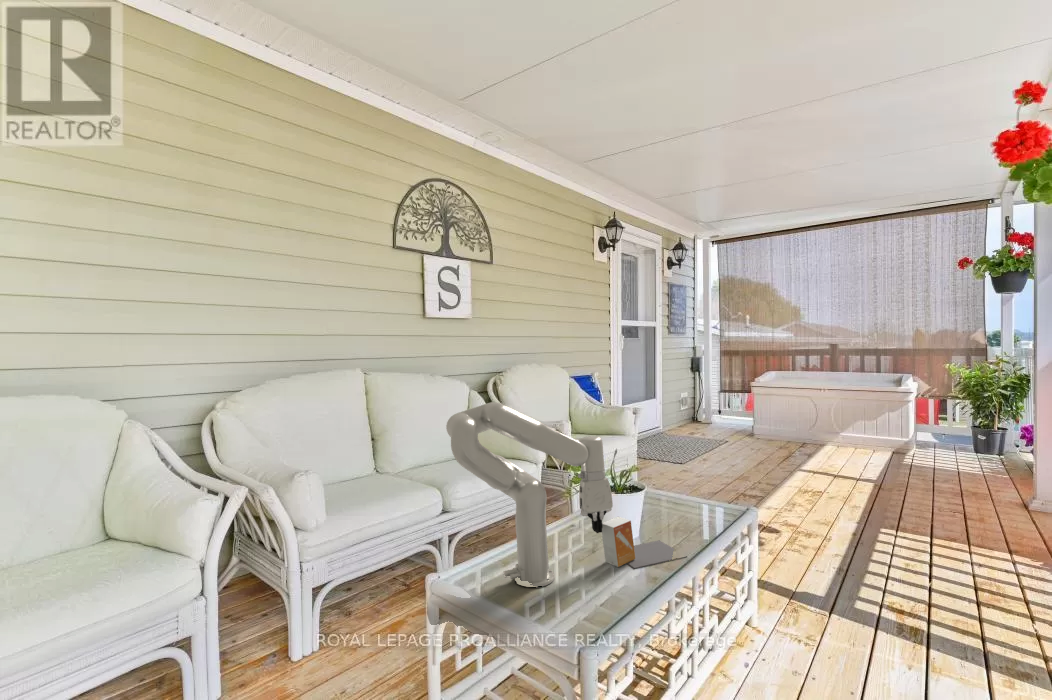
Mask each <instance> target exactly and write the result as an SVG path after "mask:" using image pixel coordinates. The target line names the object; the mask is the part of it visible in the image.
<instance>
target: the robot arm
mask: <svg viewBox="0 0 1052 700" xmlns="http://www.w3.org/2000/svg"><path fill="white" fill-rule="evenodd" d="M445 426H446V427H445V428H446V433H447V434H448V436H449V437H450V447H451V452H452V454H453V457H454V459H455V460H456V462H457V463H458V464H459V465H460V466H461V467H463V468H464V469H465V470H467V471H469V472H470V473H471V474H472V475H474V476H475V477H477V478H479V479H480V480H481V481H483V482H485V483H486V484H487V485H488V486H490V488H492V489H494V490H497V491H500V492H501V493H503V494H505V495H506V496H508V497H510V499H512V500H513V501H514V502H515V515H514V516H515V533H516V551H517V552H516V553H517V563H516V564H515V567H513V568H512V569H507V570H503V572H502V573H504V574H503V576H504V575H505V576H510V577H509V579H510V580H514V578H517V577H518V578H520V580H521V581H528V582H529V583H532V584H530V585H533V586H542V587H545V586H548V585H550V584H551V583H552V582H554V580H555V573H554V571H553V570H552V569H550V565H549V551H548V549H549V548H548V535H547V534H548V533H547V531H548V530H547V521H546V519H547V517H546V516H547V515H546V514H547V513H546V510H547V491H546V488H545V486H544V484H543V483H542V482H541V481H540V480H539V479H538V478H536V477H535V476H533V475H531V474H530V473H528V472H526V471H525V470H523V469H522V468H520V467H519V466H518V465H516V464H514V463H513V462H511V461H510V460H508V459H507V458H505V457H503V456H502V455H498V454H495V453H493V452H492V451H491V450H490V449H488V448H486V447H485V446H484V445H482V444H481V443H480V441H479V434H481V433H483V432H487V431H489V430H492V431H494V432H497V433H499V434H500V435H503V436H505V437H507V438H509V439H512V440H513V441H516V442H518V443H519V444H522V445H524V446H526V447H528V448H531V449H533V450H536V451H539V452H542V453H544V454H547V455H548V456H551V457H552V458H555V459H558V460H560V461H562V462H564V463H566V464H568V465H570V466H572V467H581V468H580V473H577V477H578V479H580V481H579V491H578V492H579V494H578V496H579V497H578V499H579V500H578V501H579V509H580V515H581V516H582V517H588V518H590V520H591V528H592V531H593V532H595V533H596V534H599V533H600V534H602V528H603V526H602V523H603V520H604V517H605V515H606V514H607V513H609V512H611V511H612V508H613V506H614V505H613V496H612V491H611V485H610V482H609V478H608V477H606V470H605V459H604V457H605V456H604V447H603V445H604V443H603V440H602V438H601V437H600V436H596V435H595V436H594V435H591V436H583V437H576V438H575V437H574V438H573V437H569V436H568V435H565V434H564V433H561V432H560V431H558V430H555V429H553V428H552V427H550V426H548V425H547V424H545V423H542V422H541V421H539V420H537V419H535V418H533V417H531V416H529V415H527V414H525V413H522V412H520V411H518V410H516V409H514V408H512V407H510V406H507V405H506V404H503V403H501V402H496V401H491V402H488V403H485V404H481V405H479V406H475V407H472V408H469V409H465V410H462V411H460V412H457V413H456V412H455V413H454V414H452V415H451V416H450V417H449V419H447V421H446V425H445Z"/></svg>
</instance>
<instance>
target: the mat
mask: <svg viewBox="0 0 1052 700" xmlns="http://www.w3.org/2000/svg"><path fill="white" fill-rule="evenodd" d="M674 549H675V548H673V547H672V546H670V545H669V544H667V543H665V542H663V541H661V540H655V541H650V542H645V543H639V544H636V545H635V544H634V551H635V560H632V561H630V562H628V563H626V565H628V566H629V567H631V568H633V569H634V570H636V569H641V568H646V567H650V566H654V565H659V564H663V562H664V563H666V562H665V561H668V562H670V561H669V560H672V557H673V556H672V555H673V551H674ZM672 561H673V560H672Z"/></svg>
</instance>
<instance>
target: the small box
mask: <svg viewBox="0 0 1052 700" xmlns="http://www.w3.org/2000/svg"><path fill="white" fill-rule="evenodd" d="M602 526H603V528H602V532H601V535H602V536H601V537H602V545H603V553H604V560H605V563H607V564H610V565H612V566H614V567H616V568H619V567H622V566H623V565H625V564H627V563H628V562H630V561H632V560H635V551H634V546H635V544H634V538H633V529H632V521H631V520H630V519H627V518H624V517H621V516H617V517H614V518H611V519H608V520H606V521H604V522H603V521H602Z"/></svg>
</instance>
